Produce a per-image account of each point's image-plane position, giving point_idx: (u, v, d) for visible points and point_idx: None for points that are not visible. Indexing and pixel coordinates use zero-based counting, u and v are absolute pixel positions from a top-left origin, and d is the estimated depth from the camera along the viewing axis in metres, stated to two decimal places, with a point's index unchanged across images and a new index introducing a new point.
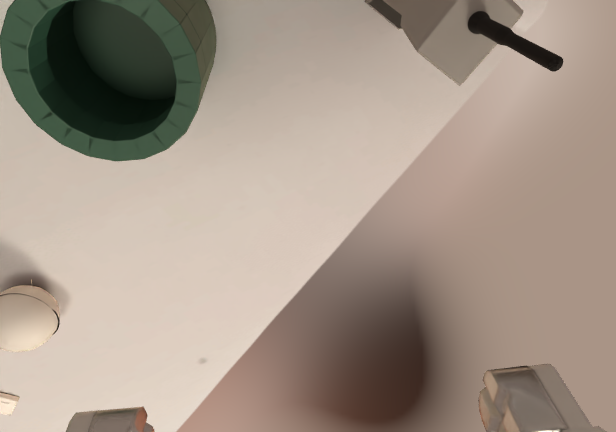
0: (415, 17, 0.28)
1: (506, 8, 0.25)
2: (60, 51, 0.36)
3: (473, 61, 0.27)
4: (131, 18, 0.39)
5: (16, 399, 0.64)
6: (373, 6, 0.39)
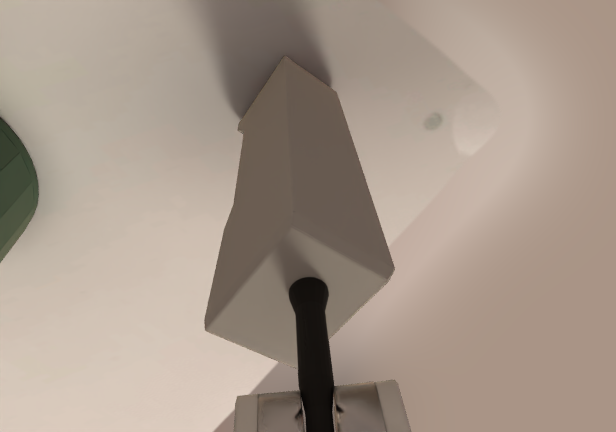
0: (231, 239, 0.16)
1: (359, 272, 0.13)
2: None
3: None
4: None
5: None
6: None
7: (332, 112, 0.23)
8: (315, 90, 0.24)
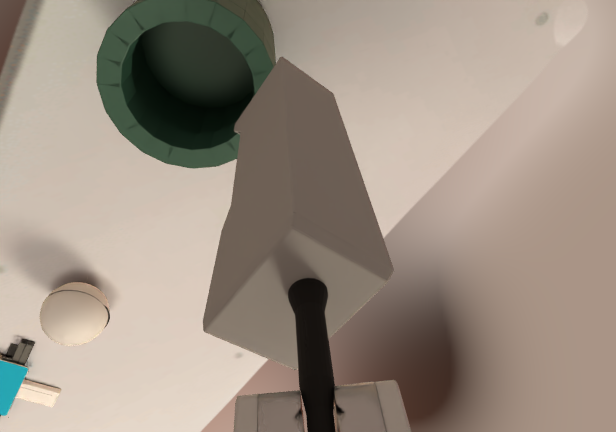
0: (229, 239, 0.16)
1: (358, 273, 0.13)
2: (134, 63, 0.38)
3: None
4: (197, 31, 0.41)
5: (58, 391, 0.67)
6: None
7: (329, 113, 0.23)
8: (312, 91, 0.24)
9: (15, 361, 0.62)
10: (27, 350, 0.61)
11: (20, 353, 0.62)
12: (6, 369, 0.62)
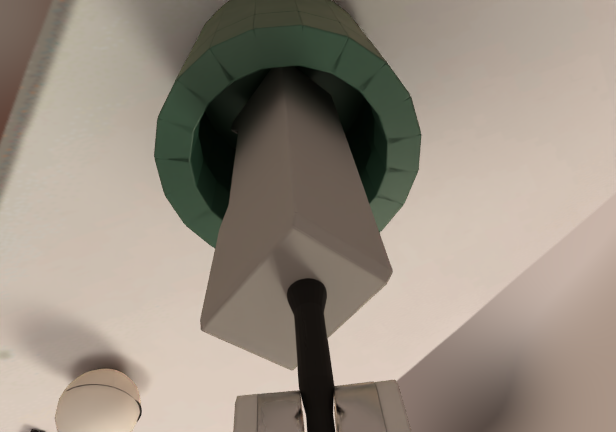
0: (227, 238, 0.16)
1: (357, 274, 0.13)
2: None
3: None
4: None
5: None
6: None
7: (328, 114, 0.23)
8: (311, 92, 0.24)
9: None
10: None
11: None
12: None
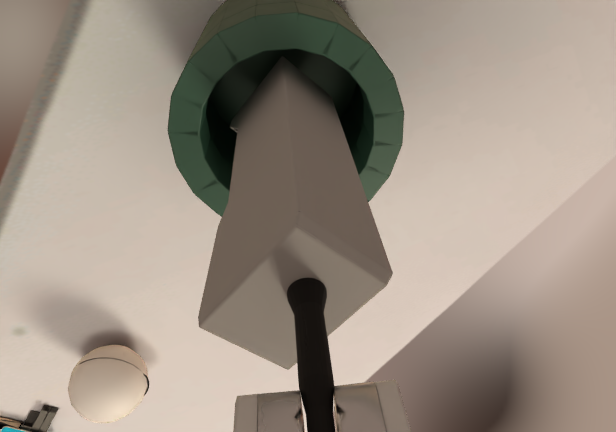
0: (227, 235, 0.16)
1: (358, 275, 0.13)
2: None
3: None
4: (272, 55, 0.33)
5: None
6: None
7: (328, 115, 0.23)
8: (312, 92, 0.24)
9: (35, 430, 0.54)
10: (49, 418, 0.53)
11: (41, 421, 0.53)
12: None
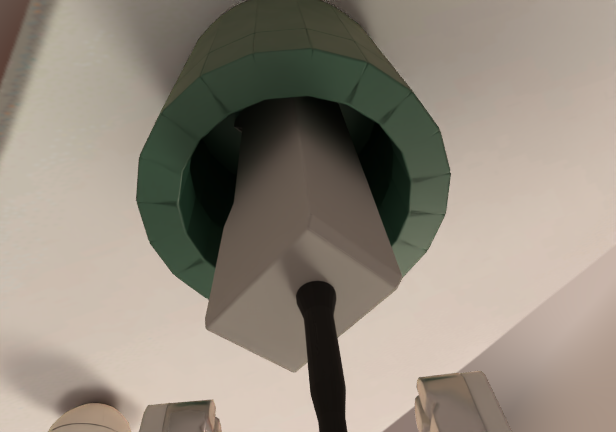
0: (234, 236, 0.16)
1: (368, 278, 0.13)
2: None
3: None
4: None
5: None
6: None
7: (334, 116, 0.23)
8: None
9: None
10: None
11: None
12: None
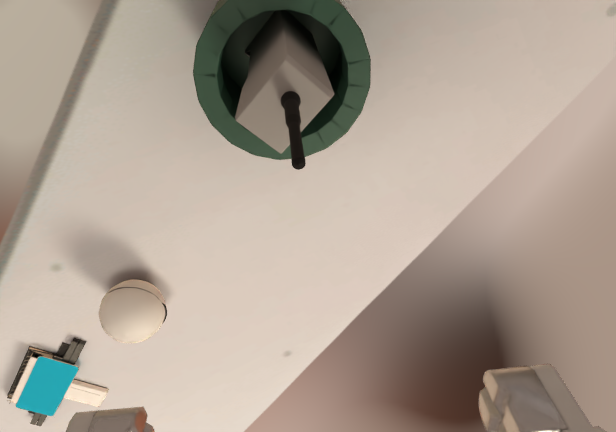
0: (248, 85, 0.30)
1: (316, 90, 0.27)
2: None
3: None
4: None
5: (106, 391, 0.66)
6: None
7: (308, 39, 0.37)
8: (298, 26, 0.38)
9: (66, 360, 0.62)
10: (78, 349, 0.61)
11: (71, 352, 0.61)
12: (57, 368, 0.62)
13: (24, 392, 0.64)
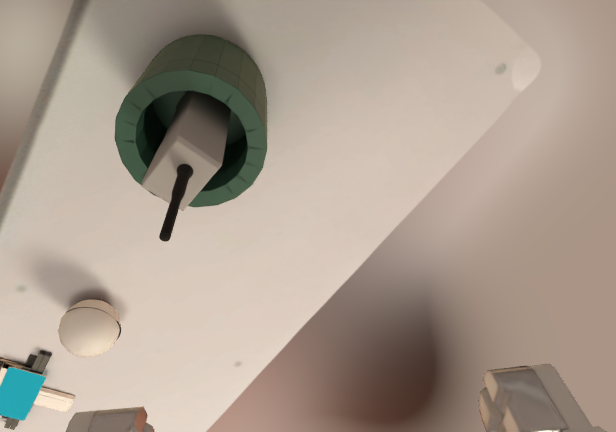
0: (157, 153, 0.36)
1: (205, 163, 0.33)
2: (145, 114, 0.45)
3: (188, 195, 0.35)
4: None
5: (73, 397, 0.73)
6: None
7: None
8: None
9: (34, 370, 0.68)
10: (45, 360, 0.67)
11: (38, 363, 0.68)
12: (26, 378, 0.68)
13: None
